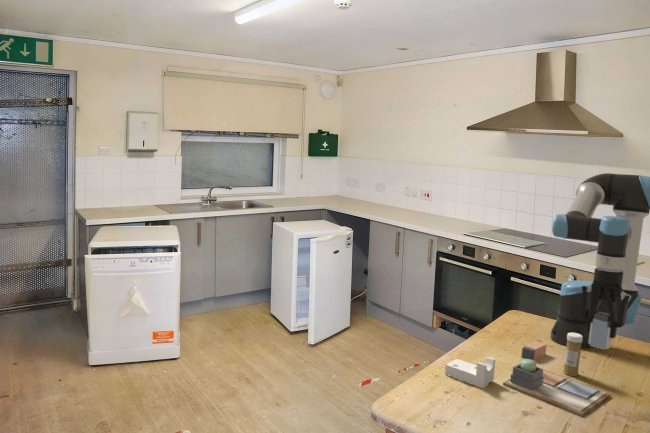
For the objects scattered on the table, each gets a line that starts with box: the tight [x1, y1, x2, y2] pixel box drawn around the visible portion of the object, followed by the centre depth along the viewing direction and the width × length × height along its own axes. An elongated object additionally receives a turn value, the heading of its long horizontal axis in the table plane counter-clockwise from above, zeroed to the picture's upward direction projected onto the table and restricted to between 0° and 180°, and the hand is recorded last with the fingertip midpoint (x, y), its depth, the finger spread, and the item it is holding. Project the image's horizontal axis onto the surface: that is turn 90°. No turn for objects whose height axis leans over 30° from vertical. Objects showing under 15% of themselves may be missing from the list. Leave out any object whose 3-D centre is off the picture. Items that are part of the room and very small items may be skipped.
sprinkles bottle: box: [562, 333, 583, 377], centre depth 177 cm, size 5×5×14 cm
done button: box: [520, 358, 538, 373], centre depth 166 cm, size 4×4×3 cm
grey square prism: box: [590, 311, 610, 351], centre depth 162 cm, size 4×4×10 cm
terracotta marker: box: [521, 340, 548, 361], centre depth 191 cm, size 4×4×10 cm
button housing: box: [509, 362, 544, 391], centre depth 166 cm, size 7×7×5 cm
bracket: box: [444, 356, 497, 389], centre depth 171 cm, size 13×7×8 cm, turn 48°
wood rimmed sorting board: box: [502, 369, 612, 418], centre depth 165 cm, size 20×24×1 cm
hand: (599, 345), depth 163 cm, fingers closed on grey square prism, 4 cm apart
